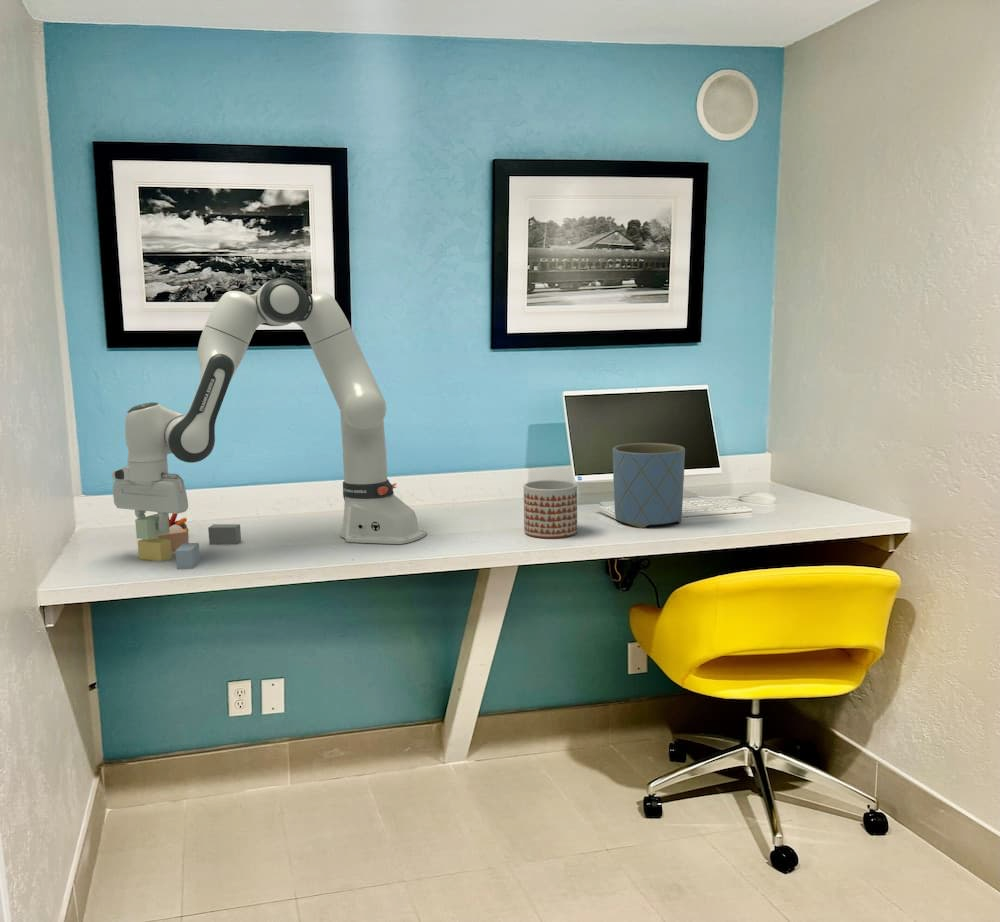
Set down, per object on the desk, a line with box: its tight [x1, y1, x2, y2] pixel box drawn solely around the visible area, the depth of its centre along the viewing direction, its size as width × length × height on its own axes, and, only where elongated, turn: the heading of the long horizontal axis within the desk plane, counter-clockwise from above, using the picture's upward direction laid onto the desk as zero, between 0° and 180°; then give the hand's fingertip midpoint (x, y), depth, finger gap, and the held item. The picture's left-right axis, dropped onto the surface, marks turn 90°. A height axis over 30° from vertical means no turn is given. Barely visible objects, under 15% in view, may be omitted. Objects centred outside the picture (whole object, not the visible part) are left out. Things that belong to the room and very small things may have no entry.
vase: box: [523, 479, 578, 540], centre depth 246 cm, size 14×14×13 cm
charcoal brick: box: [207, 523, 242, 545], centre depth 243 cm, size 7×4×4 cm, turn 86°
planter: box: [612, 442, 686, 529], centre depth 256 cm, size 19×19×20 cm
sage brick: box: [134, 513, 170, 540], centre depth 228 cm, size 7×4×4 cm, turn 155°
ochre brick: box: [137, 538, 173, 562], centre depth 229 cm, size 7×4×4 cm, turn 66°
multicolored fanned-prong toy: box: [155, 513, 189, 538], centre depth 249 cm, size 8×10×7 cm
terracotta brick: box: [156, 529, 190, 552], centre depth 237 cm, size 7×4×4 cm, turn 121°
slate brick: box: [175, 542, 200, 570], centre depth 222 cm, size 7×4×4 cm, turn 4°
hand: (153, 528), depth 228 cm, fingers closed on sage brick, 3 cm apart
